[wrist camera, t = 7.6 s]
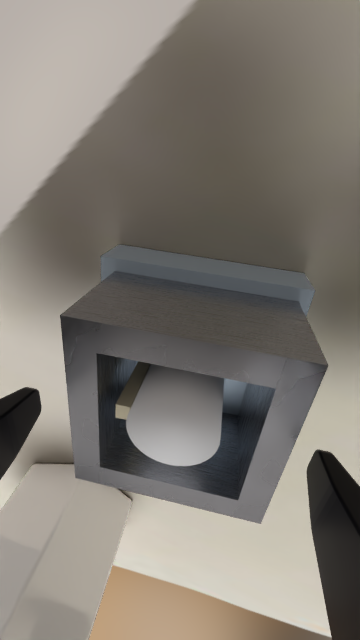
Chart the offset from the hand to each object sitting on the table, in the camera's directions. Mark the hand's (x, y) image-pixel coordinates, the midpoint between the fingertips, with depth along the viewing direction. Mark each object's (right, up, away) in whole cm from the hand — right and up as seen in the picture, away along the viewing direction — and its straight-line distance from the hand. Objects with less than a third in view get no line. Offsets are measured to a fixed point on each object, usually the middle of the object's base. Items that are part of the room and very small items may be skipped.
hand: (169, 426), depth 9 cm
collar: (+1, +2, +3) cm, 4 cm away
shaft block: (+1, +3, +5) cm, 6 cm away
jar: (-7, -10, +14) cm, 18 cm away
